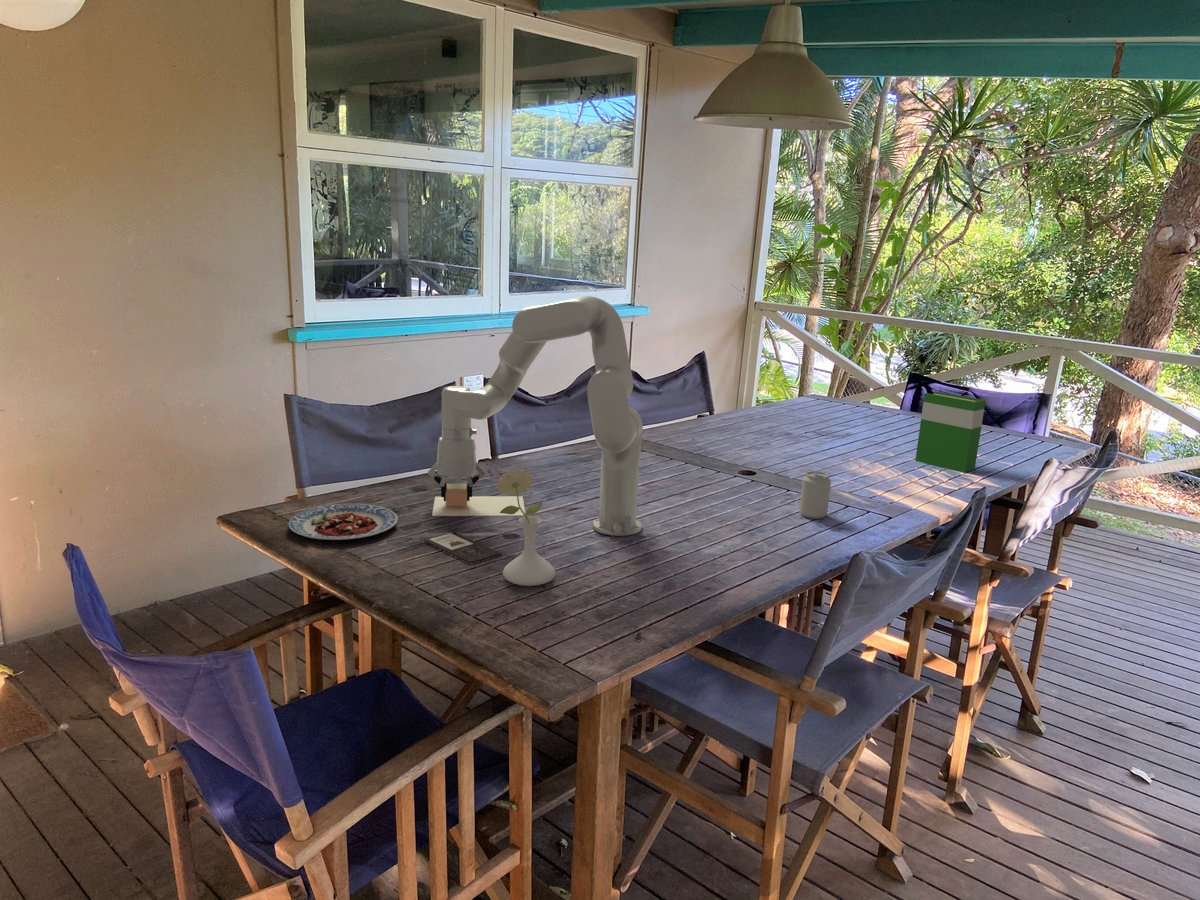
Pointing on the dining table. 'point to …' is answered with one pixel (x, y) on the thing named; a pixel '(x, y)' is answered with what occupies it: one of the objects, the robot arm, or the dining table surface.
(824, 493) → the can
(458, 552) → the chocolate bar
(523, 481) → the flower in vase
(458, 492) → the orange-brown block
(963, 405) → the green cereal box
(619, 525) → the robot arm
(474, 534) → the dining table surface
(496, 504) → the mat
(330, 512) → the ceramic plate
